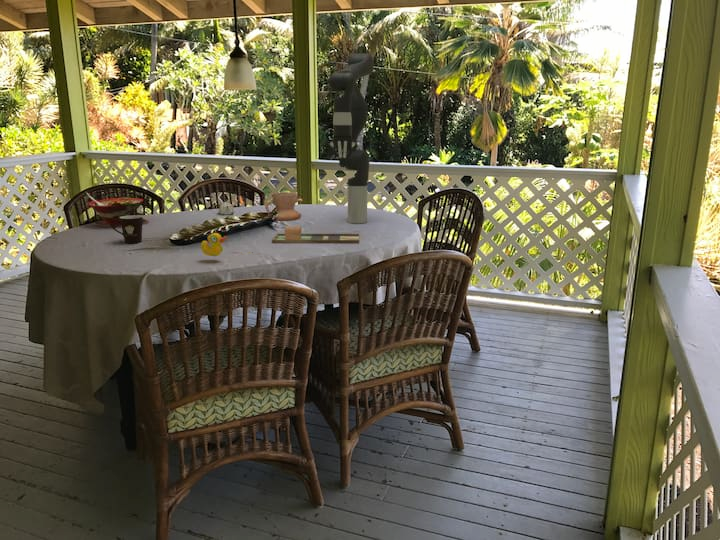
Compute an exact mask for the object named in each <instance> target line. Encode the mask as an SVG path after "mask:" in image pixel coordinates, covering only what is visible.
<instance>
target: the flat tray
mask: <svg viewBox="0 0 720 540" xmlns="http://www.w3.org/2000/svg"><path fill="white" fill-rule="evenodd" d="M312 236H324V237H323V240H310V239H311V237H312ZM328 236H340V240H328ZM359 243H360V233H301V239H300V240H285V233H276V234H275V236H273V238H272V239H271V244H359Z"/></svg>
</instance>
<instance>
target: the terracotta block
mask: <svg viewBox="0 0 720 540" xmlns="http://www.w3.org/2000/svg"><path fill="white" fill-rule="evenodd" d="M284 234H285V240H300V239H301V234H302V226H286V227H285V228H284Z"/></svg>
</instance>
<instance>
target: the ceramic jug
mask: <svg viewBox="0 0 720 540" xmlns="http://www.w3.org/2000/svg"><path fill="white" fill-rule="evenodd" d="M271 197H272V199H268V200H267V201H266V202H265V204H264V205H265V210H266V212H267V214H268V215H269V213H271V211H270V209H269V204H273V205H274V206H275V208H276V209H274V211H276V212H277V213H278V216H277V219H276V220H275V221H278V222H291V221H297V220H300V219H301V216H302V214H301V213H300V212H299V211H298V210H296V209H295V206H296V204H297V203H299V202H301V203H302V202H303V199H302V198H298V193H297V192H293V191H290V192H288V191H287V192H286V191H284V192H283V191H282V192H272V193H271Z"/></svg>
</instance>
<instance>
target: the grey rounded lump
mask: <svg viewBox="0 0 720 540" xmlns="http://www.w3.org/2000/svg"><path fill="white" fill-rule="evenodd" d="M235 206H236V204H232V203H230V202H228V201H227V199H225V200H224V202H222V203H221V204H219V205H218V206H217V207H218V213H217V215H221V216H230V215H232V216H233V215H234V213H235V212H234V207H235Z"/></svg>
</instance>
